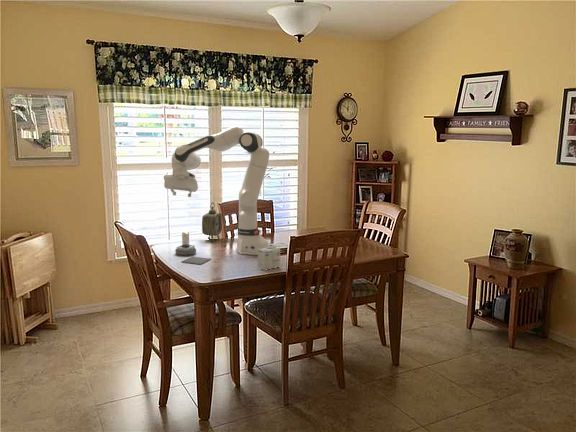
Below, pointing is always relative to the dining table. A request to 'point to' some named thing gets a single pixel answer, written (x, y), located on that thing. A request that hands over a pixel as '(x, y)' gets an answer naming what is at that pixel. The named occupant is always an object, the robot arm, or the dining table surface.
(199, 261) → the mat
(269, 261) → the light bulb box
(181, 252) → the chuck block
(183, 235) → the key rod
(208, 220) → the tabletop clock
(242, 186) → the robot arm
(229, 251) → the dining table surface
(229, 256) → the dining table surface
